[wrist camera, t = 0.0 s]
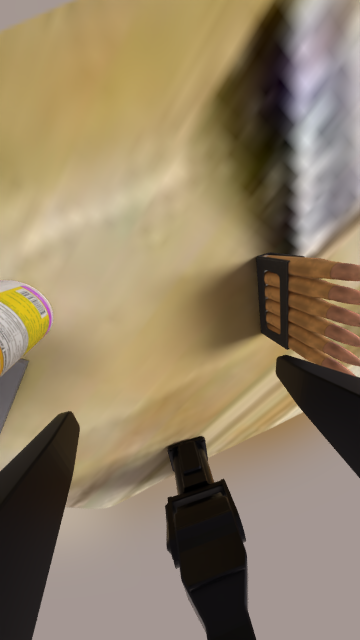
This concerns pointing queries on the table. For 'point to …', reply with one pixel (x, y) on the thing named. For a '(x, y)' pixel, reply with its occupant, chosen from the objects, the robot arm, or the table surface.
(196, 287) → the table surface
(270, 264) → the ammunition clip
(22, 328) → the supplement bottle
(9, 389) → the place mat
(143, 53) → the table surface
